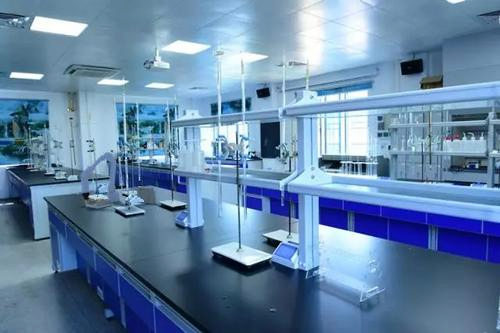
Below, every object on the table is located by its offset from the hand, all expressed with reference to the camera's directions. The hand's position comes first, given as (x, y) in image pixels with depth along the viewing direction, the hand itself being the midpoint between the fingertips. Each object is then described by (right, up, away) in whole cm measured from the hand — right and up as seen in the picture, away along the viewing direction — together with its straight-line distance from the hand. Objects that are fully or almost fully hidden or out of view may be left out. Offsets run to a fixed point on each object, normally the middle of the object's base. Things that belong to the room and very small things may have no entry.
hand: (86, 201), depth 298 cm
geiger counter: (+50, -1, 0) cm, 50 cm away
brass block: (+17, -2, -11) cm, 20 cm away
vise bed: (+16, -3, -10) cm, 19 cm away
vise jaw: (+7, -1, -5) cm, 9 cm away
